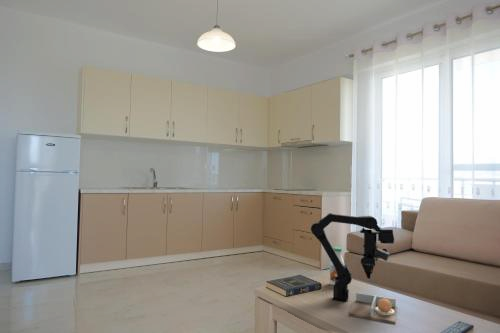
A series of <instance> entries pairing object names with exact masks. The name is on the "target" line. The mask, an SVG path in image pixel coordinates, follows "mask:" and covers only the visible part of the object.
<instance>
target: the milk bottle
mask: <svg viewBox="0 0 500 333" xmlns="http://www.w3.org/2000/svg"><path fill="white" fill-rule="evenodd" d="M333 249H334V251H335V253H336V254H337V256H338V258H339V260H340V261H341V263H342V264H343V265H344V266H345V261H344V259H343V256H342V248H341V247H337V246H335V247H333ZM329 262H330V263H329V284H330V286H332V285H333V286H334V284H335V281H334V279H335V278H336V277H337V276H338V275H337V272H336V269H335V267H334V265H333V263H332V261H331V260H330V261H329Z"/></svg>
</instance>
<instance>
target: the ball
mask: <svg viewBox="0 0 500 333" xmlns="http://www.w3.org/2000/svg"><path fill="white" fill-rule="evenodd" d="M378 308H379V310H380V311H382V312H386V313H387V312H389V311H390V310H391V308H392V305H391V303H390V301H389V300H387V299H385V298H383V299H380V300H379V301H378Z"/></svg>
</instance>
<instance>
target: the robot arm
mask: <svg viewBox="0 0 500 333" xmlns="http://www.w3.org/2000/svg"><path fill="white" fill-rule="evenodd" d="M332 223H338V224H339V223H340V224H347V225H348V224H349V225H355V226H359V227H361V229H360V230H359V233H360V234H363V245H362V248H363V254H362V257H361V259H360V264H361V266H362V268H363V270H364V272H365V273H364V274H365V275H366V278H367V279H371V276H372V274H373V271H374V267H376V265H377V264H376V263H377V261H378V260H379V259H382V260H383V261H386V262H387V261H388V259H389V257H390V252H389V251H388V248H385V247H383V248H378V247H379V246H378V244H377V243H378V242H380V244H382V245H385V244H386V245H394V242H395V237H394V230H393V229H391V228H389V229H388V228H387V229H386V228H385V229H383V228H381V227H380V226H379V225H378V221H377V219H376V218H375V217H374V216H371V215H360V216H354V215H343V214H336V213H332V212H330V213H327V215H325V216H324V217H322V218H321V219H319V220H318V221H315V222H313V223H312V225H311V226H310V231H311V233H312V234H313V235H314V236H315V238H316V239H317V240H318V241H319V242H320V244H321V245H322V247H323V249H324V251H325V253H326V255H327V256H328V258H329V260H330V261H332V263H333V265H334V267H335V269H336V272H337V275H338V276H337V277H336V278H335V279H334V281H335V284H334V286H333V289H332V290H333V294H332V295H333V296H332V300H334V301H339V302H347V301H348V300H349V298H350V289H349V288H348V287H349V286H348V285H350V283H351V282H352V275H353V274H352V271H351V270H350V269H349V267H348V264H344V265H343V264H342V263H341V261H340V260H339V258H338V256H337V254H336V253H335V251H334V249H333V248H334V247H333V245H332V243H331V242H330V241H329V238H328V237H327V234H326V231H325V228H326V227H328V226H329V225H330V224H332ZM373 230H374V231H373ZM377 241H378V242H377Z"/></svg>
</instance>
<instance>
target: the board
mask: <svg viewBox="0 0 500 333" xmlns="http://www.w3.org/2000/svg"><path fill="white" fill-rule="evenodd" d="M383 298H385V299H387V300H389V301H390V303H391V305H392V308H391V310H390V311H389V312H387V313H386V312H382V311H380V310H379V308H378V301H379V300H380V299H383ZM396 302H397V299H396V298H393V297H387V296H380V295H374V294H368V293H360V292H356V293H355V299H354V301H353V304H352V306H351V308H350V310H349V312H348V316H349V317H354V318H355V317H356V318H360V319H361V318H362V319H365V320H371V321H377V322H382V323H383V322H384V323H387V324H394V325H396V319H397V313H398V312H397V311H398V307H397V304H396Z"/></svg>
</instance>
